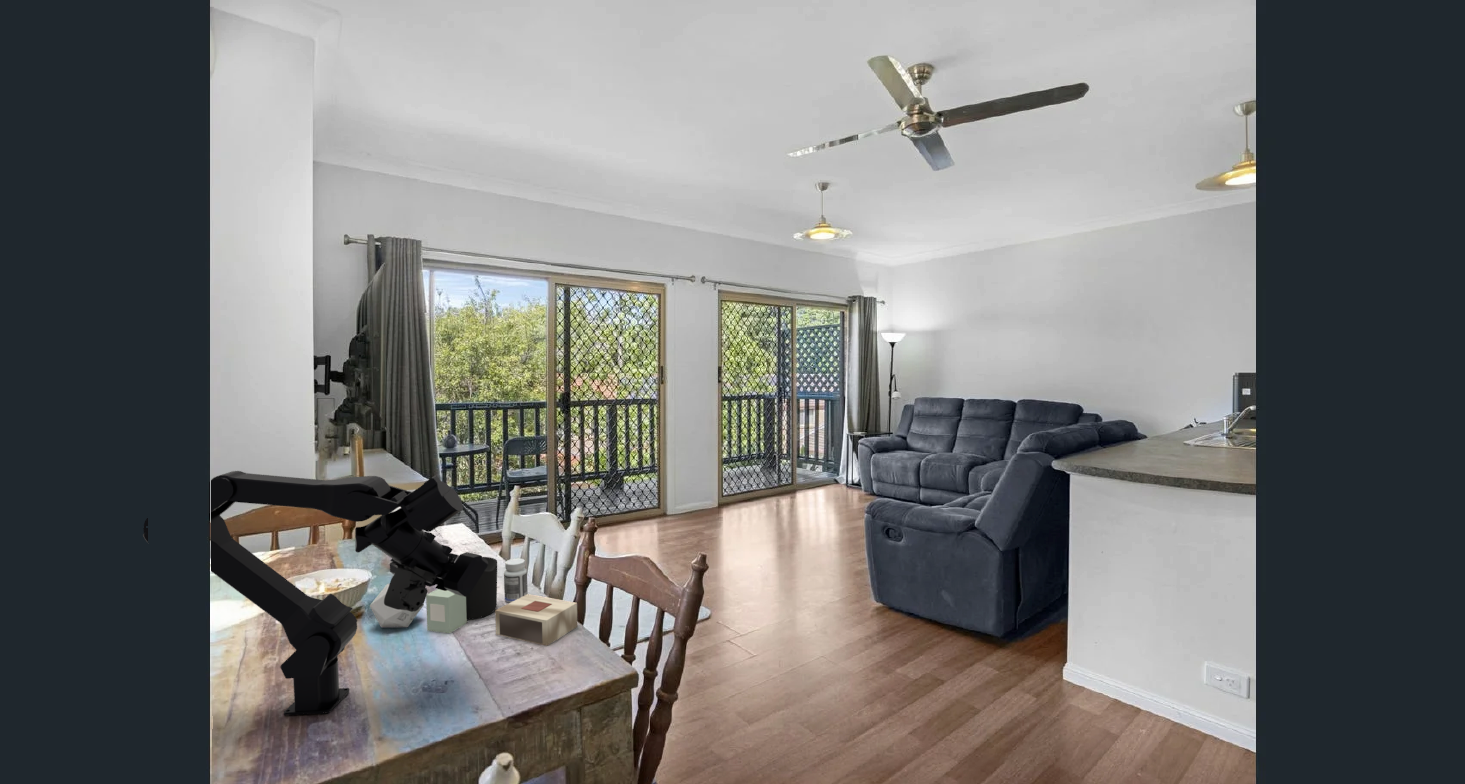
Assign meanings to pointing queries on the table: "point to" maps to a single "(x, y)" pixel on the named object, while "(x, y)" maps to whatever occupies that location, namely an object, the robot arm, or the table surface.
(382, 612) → the die
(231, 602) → the table surface
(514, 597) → the pill bottle
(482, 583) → the pen holder
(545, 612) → the birch block
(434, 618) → the sage block
